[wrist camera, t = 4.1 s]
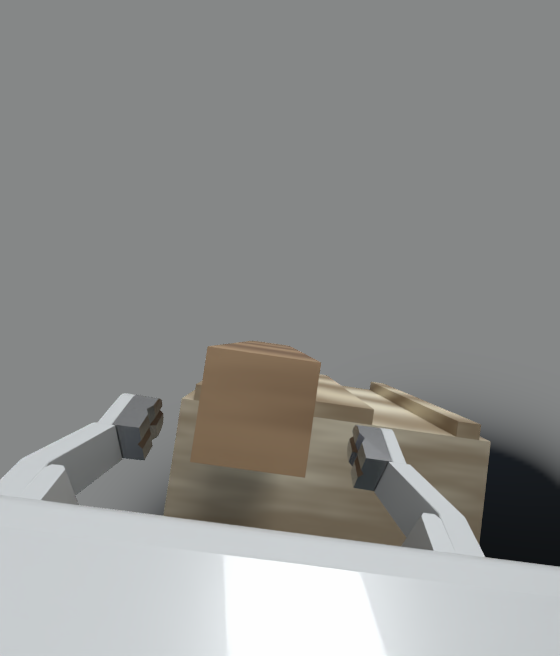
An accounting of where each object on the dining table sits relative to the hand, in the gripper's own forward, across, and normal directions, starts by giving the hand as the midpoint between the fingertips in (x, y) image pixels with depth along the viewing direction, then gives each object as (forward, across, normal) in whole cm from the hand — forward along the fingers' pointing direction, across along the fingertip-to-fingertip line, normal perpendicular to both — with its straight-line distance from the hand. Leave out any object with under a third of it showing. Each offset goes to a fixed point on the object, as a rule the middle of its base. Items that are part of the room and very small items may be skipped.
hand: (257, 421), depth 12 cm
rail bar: (+6, 0, +5) cm, 8 cm away
